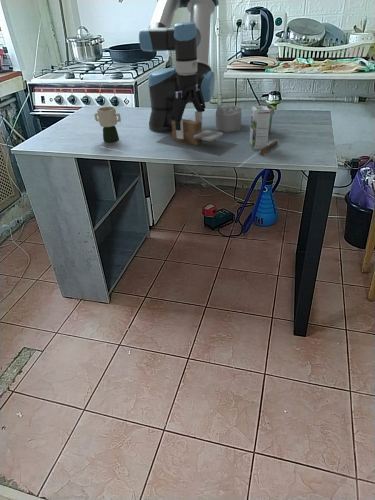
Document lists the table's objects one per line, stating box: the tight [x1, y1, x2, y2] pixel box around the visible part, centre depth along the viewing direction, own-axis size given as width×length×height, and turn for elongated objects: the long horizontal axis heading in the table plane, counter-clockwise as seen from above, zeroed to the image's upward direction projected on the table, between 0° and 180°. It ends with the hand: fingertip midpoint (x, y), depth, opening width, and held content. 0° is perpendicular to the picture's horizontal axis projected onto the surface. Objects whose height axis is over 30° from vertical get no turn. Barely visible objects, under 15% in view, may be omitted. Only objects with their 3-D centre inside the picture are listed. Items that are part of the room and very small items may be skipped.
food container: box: [259, 103, 275, 136], centre depth 153 cm, size 12×6×10 cm, turn 168°
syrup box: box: [248, 105, 270, 151], centre depth 139 cm, size 6×6×14 cm
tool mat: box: [155, 133, 238, 156], centre depth 149 cm, size 30×13×1 cm, turn 55°
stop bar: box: [259, 140, 279, 156], centre depth 140 cm, size 1×12×2 cm, turn 144°
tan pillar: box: [171, 118, 224, 145], centre depth 147 cm, size 20×8×8 cm, turn 55°
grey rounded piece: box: [215, 104, 242, 132], centre depth 161 cm, size 10×13×9 cm
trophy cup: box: [93, 105, 122, 143], centre depth 153 cm, size 11×7×13 cm, turn 77°
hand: (189, 133), depth 148 cm, fingers open, 12 cm apart
